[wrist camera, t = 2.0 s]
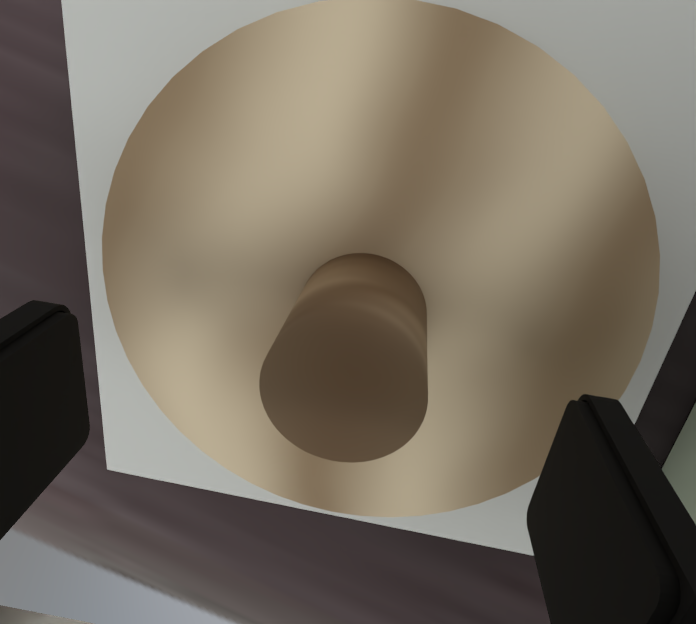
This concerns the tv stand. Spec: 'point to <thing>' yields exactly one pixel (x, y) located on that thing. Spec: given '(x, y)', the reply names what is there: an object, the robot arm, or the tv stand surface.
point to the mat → (488, 3)
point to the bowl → (684, 465)
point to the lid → (378, 255)
